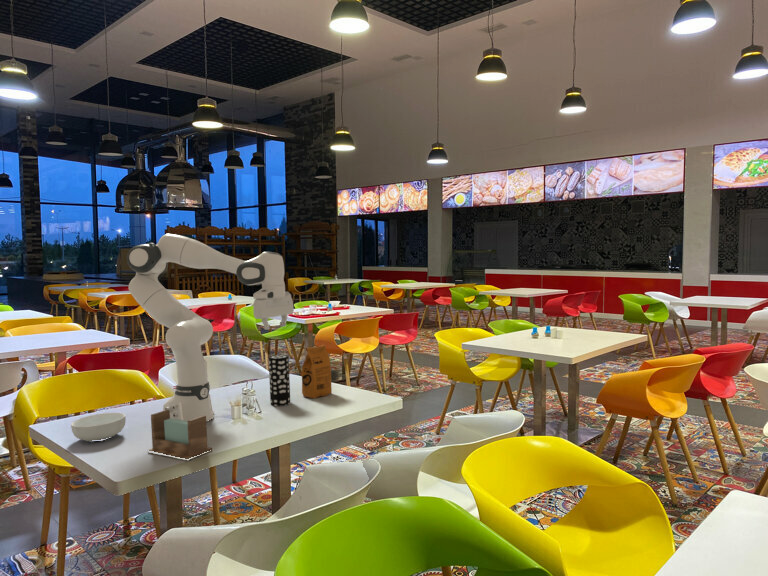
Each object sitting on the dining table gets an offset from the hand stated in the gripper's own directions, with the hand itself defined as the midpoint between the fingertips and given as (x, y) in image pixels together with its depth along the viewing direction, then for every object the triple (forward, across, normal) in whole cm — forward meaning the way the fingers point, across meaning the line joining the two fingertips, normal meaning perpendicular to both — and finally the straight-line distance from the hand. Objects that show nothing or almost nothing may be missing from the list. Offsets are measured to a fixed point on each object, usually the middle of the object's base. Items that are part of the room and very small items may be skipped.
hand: (275, 327), depth 216 cm
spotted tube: (+34, -12, -9) cm, 37 cm away
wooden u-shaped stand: (+34, +48, -1) cm, 59 cm away
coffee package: (+34, -30, -3) cm, 46 cm away
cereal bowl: (+34, +50, -39) cm, 72 cm away
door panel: (+33, +48, -1) cm, 58 cm away
